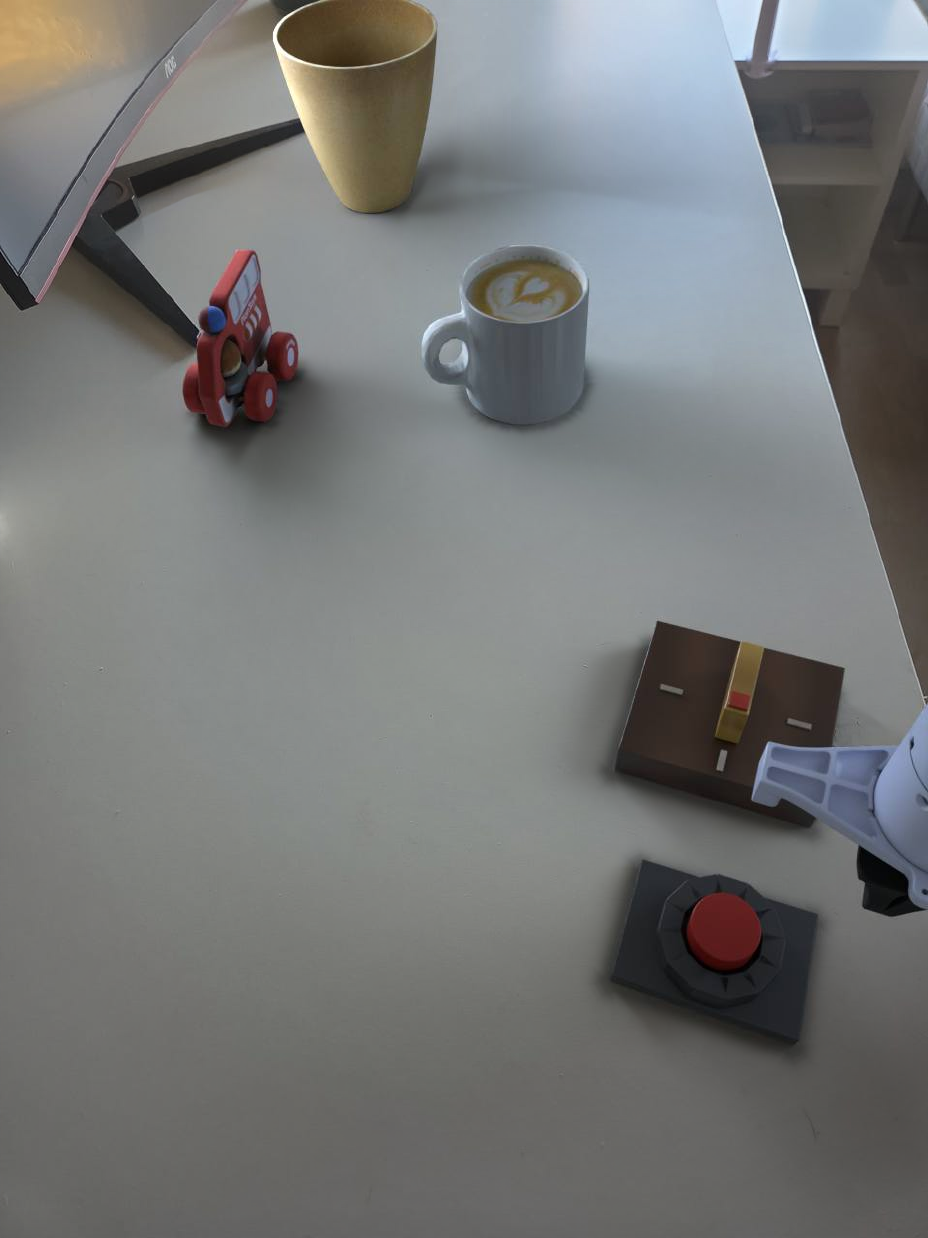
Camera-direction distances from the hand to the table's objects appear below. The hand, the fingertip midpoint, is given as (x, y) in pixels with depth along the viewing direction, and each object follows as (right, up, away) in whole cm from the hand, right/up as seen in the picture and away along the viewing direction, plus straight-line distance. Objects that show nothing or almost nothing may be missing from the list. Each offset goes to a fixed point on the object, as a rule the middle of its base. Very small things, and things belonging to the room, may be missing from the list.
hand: (879, 893), depth 46 cm
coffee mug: (-16, +33, +36) cm, 51 cm away
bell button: (-6, -4, +6) cm, 9 cm away
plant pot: (-29, +57, +54) cm, 84 cm away
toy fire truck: (-38, +32, +37) cm, 63 cm away
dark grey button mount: (-6, -5, +8) cm, 11 cm away
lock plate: (-3, +6, +16) cm, 17 cm away
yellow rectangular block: (-3, +8, +13) cm, 16 cm away
